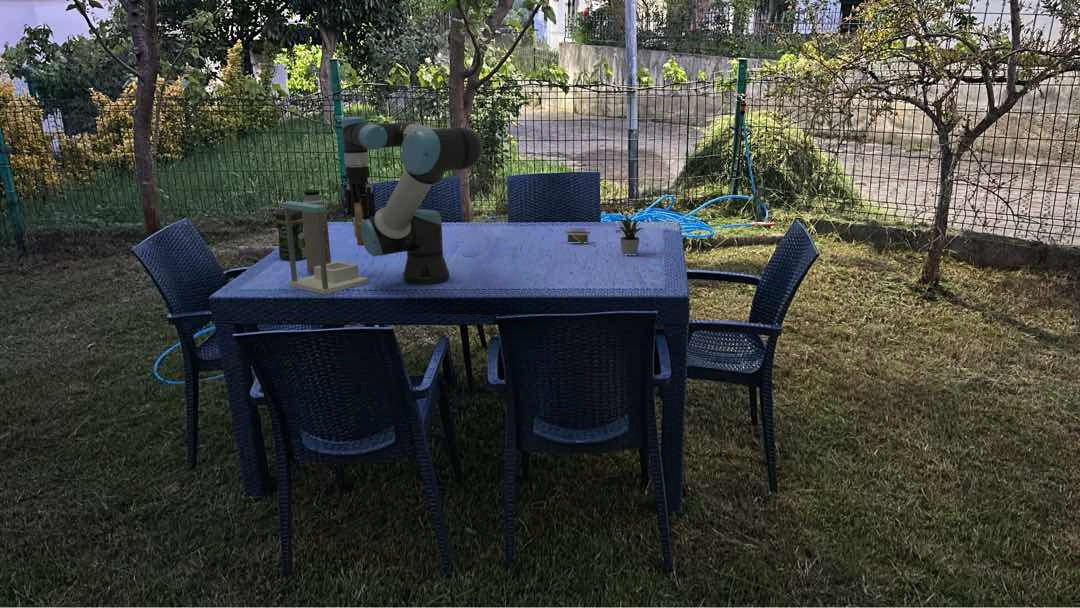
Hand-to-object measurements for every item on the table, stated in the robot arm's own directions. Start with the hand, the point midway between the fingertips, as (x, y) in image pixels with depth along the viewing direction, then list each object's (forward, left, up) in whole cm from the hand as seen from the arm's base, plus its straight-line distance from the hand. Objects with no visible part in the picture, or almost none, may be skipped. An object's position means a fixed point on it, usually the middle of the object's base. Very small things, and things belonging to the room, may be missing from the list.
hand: (362, 236), depth 257 cm
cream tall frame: (+1, +14, -14) cm, 19 cm away
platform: (-28, -83, -14) cm, 89 cm away
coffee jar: (+44, -2, -14) cm, 46 cm away
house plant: (-54, -78, -14) cm, 96 cm away
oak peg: (0, 0, -3) cm, 3 cm away
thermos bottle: (+17, +6, -14) cm, 23 cm away
